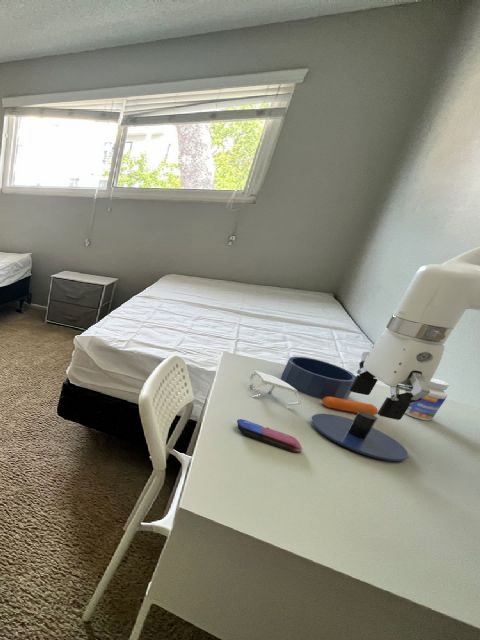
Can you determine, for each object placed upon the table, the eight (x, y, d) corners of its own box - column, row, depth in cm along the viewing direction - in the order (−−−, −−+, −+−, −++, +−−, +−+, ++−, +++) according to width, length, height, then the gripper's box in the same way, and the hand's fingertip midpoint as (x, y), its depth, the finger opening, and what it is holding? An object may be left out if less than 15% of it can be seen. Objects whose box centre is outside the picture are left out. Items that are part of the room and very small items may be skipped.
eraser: (298, 445, 73) (302, 438, 72) (302, 456, 69) (306, 449, 69) (233, 422, 78) (236, 416, 77) (234, 432, 75) (238, 425, 74)
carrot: (374, 403, 85) (322, 393, 88) (382, 408, 83) (329, 398, 86) (369, 413, 86) (317, 403, 89) (377, 419, 83) (324, 408, 86)
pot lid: (377, 428, 80) (390, 406, 78) (425, 473, 67) (443, 448, 65) (297, 410, 85) (308, 389, 83) (329, 448, 72) (342, 424, 70)
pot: (330, 382, 100) (339, 363, 98) (358, 406, 88) (369, 386, 86) (273, 370, 105) (281, 352, 103) (292, 392, 93) (301, 373, 91)
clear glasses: (236, 390, 92) (242, 374, 90) (248, 383, 96) (255, 367, 95) (293, 415, 83) (301, 398, 81) (304, 405, 87) (312, 388, 85)
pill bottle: (411, 418, 85) (433, 384, 81) (391, 406, 90) (411, 373, 86) (438, 423, 84) (462, 388, 80) (417, 410, 89) (438, 377, 85)
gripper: (485, 351, 58) (428, 434, 64) (410, 319, 73) (370, 389, 79) (424, 341, 60) (375, 422, 67) (364, 312, 75) (328, 380, 82)
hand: (372, 404), depth 73 cm, fingers open, 9 cm apart
